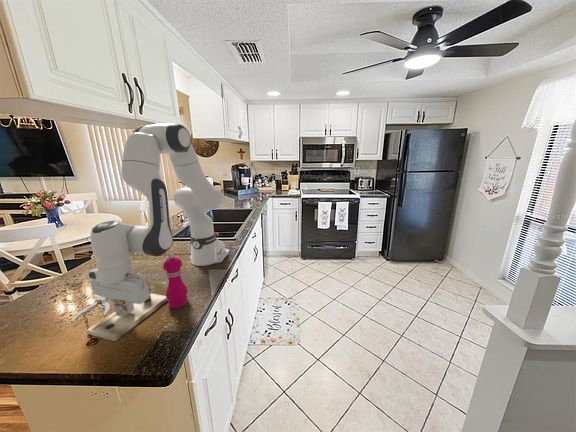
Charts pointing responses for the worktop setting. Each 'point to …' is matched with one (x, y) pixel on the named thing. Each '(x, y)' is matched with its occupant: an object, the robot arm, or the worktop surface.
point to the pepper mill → (175, 282)
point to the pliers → (103, 302)
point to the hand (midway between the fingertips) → (124, 309)
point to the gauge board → (126, 319)
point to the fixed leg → (149, 293)
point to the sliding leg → (121, 308)
